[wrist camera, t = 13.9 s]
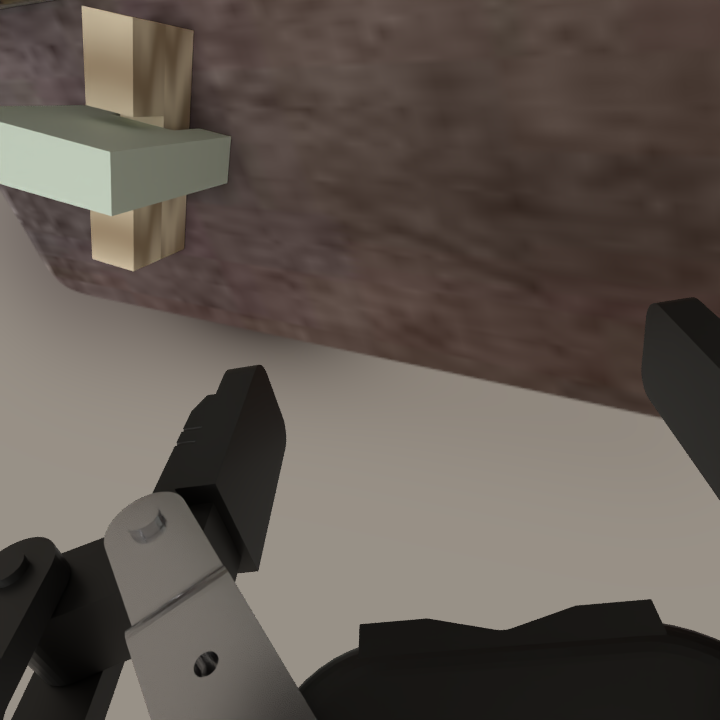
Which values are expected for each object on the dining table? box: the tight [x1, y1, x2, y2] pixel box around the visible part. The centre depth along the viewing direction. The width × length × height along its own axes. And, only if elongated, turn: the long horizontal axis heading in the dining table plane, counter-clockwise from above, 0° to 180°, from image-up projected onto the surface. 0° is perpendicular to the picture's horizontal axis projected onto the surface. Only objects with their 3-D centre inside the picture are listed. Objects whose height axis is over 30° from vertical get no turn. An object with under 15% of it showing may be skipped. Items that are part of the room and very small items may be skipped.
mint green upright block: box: [0, 105, 231, 216], centre depth 31 cm, size 9×3×12 cm, turn 78°
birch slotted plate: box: [82, 6, 194, 271], centre depth 34 cm, size 14×3×6 cm, turn 168°
